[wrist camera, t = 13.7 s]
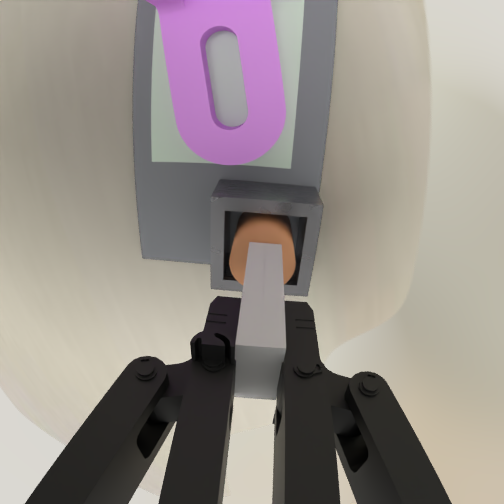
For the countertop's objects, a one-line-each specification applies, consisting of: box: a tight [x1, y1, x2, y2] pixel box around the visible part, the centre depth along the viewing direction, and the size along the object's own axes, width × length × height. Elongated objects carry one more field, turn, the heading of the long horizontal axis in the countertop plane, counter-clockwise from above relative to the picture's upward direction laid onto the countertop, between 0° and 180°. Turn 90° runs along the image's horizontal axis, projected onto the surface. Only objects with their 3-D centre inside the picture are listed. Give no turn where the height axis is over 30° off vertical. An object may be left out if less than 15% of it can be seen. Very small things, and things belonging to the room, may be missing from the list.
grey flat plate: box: [133, 0, 338, 264], centre depth 16 cm, size 21×11×1 cm, turn 177°
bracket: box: [146, 0, 286, 165], centre depth 11 cm, size 13×6×7 cm, turn 8°
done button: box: [229, 212, 296, 285], centre depth 17 cm, size 3×3×4 cm
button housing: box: [210, 179, 323, 296], centre depth 18 cm, size 6×6×3 cm
